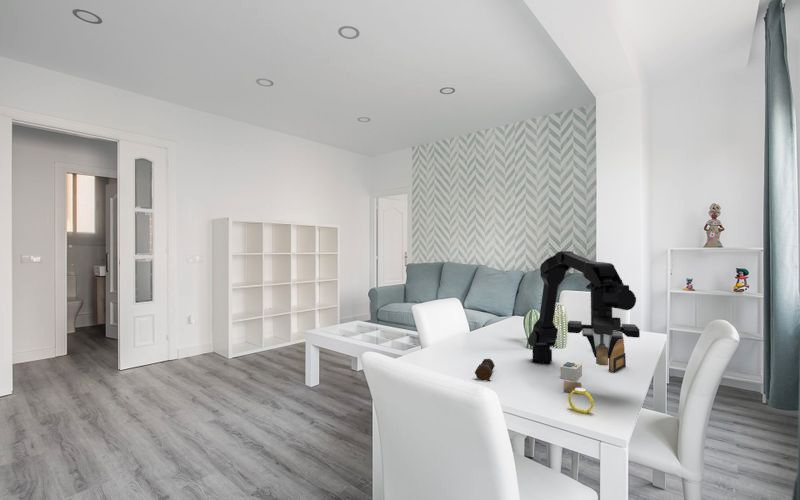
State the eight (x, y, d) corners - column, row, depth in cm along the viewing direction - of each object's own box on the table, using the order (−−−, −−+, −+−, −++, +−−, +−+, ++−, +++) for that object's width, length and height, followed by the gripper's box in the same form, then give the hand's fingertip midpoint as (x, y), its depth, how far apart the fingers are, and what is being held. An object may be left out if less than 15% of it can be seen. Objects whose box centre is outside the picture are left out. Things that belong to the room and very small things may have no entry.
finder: (560, 378, 129) (560, 365, 129) (566, 373, 134) (566, 360, 134) (576, 381, 126) (576, 368, 126) (582, 376, 131) (581, 363, 131)
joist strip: (563, 392, 116) (563, 391, 116) (565, 368, 139) (565, 367, 139) (581, 394, 114) (581, 393, 114) (580, 370, 137) (580, 369, 137)
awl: (596, 364, 114) (596, 335, 114) (595, 361, 117) (595, 332, 117) (608, 366, 112) (608, 335, 112) (607, 363, 115) (607, 333, 115)
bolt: (491, 373, 141) (485, 385, 127) (479, 365, 143) (472, 376, 128) (499, 359, 140) (494, 370, 126) (487, 351, 142) (480, 361, 128)
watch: (568, 411, 103) (566, 389, 104) (571, 408, 105) (569, 386, 106) (592, 415, 100) (590, 392, 100) (594, 412, 102) (593, 389, 102)
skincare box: (608, 348, 166) (608, 324, 166) (622, 352, 160) (622, 327, 160) (591, 351, 162) (591, 326, 162) (605, 355, 156) (604, 329, 156)
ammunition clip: (614, 373, 133) (614, 338, 133) (608, 372, 135) (608, 337, 135) (625, 366, 140) (625, 334, 140) (620, 365, 142) (619, 333, 142)
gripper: (566, 307, 111) (567, 361, 111) (642, 310, 103) (643, 369, 103) (567, 302, 121) (568, 352, 121) (636, 305, 114) (636, 358, 113)
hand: (602, 357), depth 115 cm, fingers closed on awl, 3 cm apart
